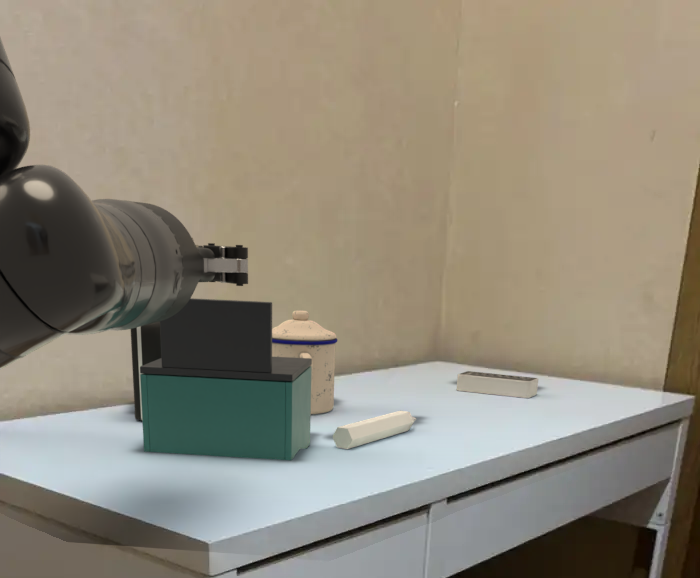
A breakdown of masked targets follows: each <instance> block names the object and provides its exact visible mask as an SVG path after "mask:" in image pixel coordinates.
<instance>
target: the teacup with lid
mask: <svg viewBox="0 0 700 578" xmlns="http://www.w3.org/2000/svg"><path fill="white" fill-rule="evenodd" d="M309 317H310V313H309V312H308V311H307V310H293V311H292V313H291V318H292V319H287V320H284V321H283V322H281V323H279V324H278V325H277V326H275V327H272V357H290V358H310V359H312V364H311V365H310V366H312V369H311V415H321V414H326V413H328V412H331V411H332V410H333V409H334V403H335V402H334V401H335V374H336V373H335V371H336V369H335V367H336V343H337V342H338V338H337V334H336V333H335V332H333V331H331V330H328V329H327V328H324V327H323V326H322V325H321V324H319V323H318V322H316V321H314V320H311V319H309Z"/></svg>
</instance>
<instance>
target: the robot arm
mask: <svg viewBox="0 0 700 578" xmlns="http://www.w3.org/2000/svg"><path fill="white" fill-rule="evenodd" d="M26 107H27V106H26V105H25V101H24V98H23V95H22V93H21V90H20V87H19V85H18V82H17V79H16V76H15V74H14V70H13V68H12V66H11V63H10V60H9V57H8V54H7V52H6V48H5V46H4V43H3V41H2V38H1V37H0V370H2V369H5V368H7V367H8V366H11V365H12V364H15V362H17V361H19V360H21V359H23V358H25V357H27V356H28V355H30V354H31V353H33V352H35V351H37V350H39V349H41V348H43V347H45V346H47V345H48V344H50V343H52V342H54V341H56V340H57V339H59V338H61V337H63V336H65V335H70V336H71V335H74V336H86V335H87V336H88V335H94V334H100V333H104V332H107V331H117V332H118V331H127V330H131V329H132V328H136V327H140V326H144V325H148V324H151V323H155V322H159V321H162V320H165V319H168V318H170V317H172V316H174V315H175V314H177V313H178V312H179V311H180V310H181V309H182V308H183V307H184V306H185V305H186V304H187V303H188V301H189V300H190V298H192V297H193V296H194V293H195V291H196V289H197V287H198V284H199V283H216V282H217V283H222V284H233V285H235V286H236V287H244V285H248V284H249V247H245V246H244V245H243V244H235V246H231V245H230V246H229V245H216V243H214V242H213V243H212V242H208V243H207V244H203V245H199V244H196V243H195V242H194V241H195V240H194V238H193V237H192V236H191V234H190V232H189V230H188V229H187V228H186V226H185V225H184V223H182V222H181V220H179V219H178V218H177V217H176V216H175V215H174V214H173V213H171V212H170V211H168V210H167V209H165V208H163V207H161V206H159V205H155V204H152V203H148V202H141V201H140V202H139V201H131V200H125V199H115V198H97V199H91V198H90V197H89V196H88V194H87V193H86V192H85V191H84V189H83V188H82V187H81V186H80V185H79V184H78V183H77V182H76V181H75V180H74V179H73V178H72V177H71V176H70V175H68V174H67V173H66V172H65V171H63V170H61V169H59V168H57V167H56V166H53V165H49V164H30V165H25V166H21V167H19V166H20V164H21V163H22V161H23V159H24V157H25V156H26V154H27V152H28V149H29V146H30V141H31V126H30V119H29V115H28V111H27V108H26Z"/></svg>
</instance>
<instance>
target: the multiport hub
mask: <svg viewBox="0 0 700 578" xmlns="http://www.w3.org/2000/svg"><path fill="white" fill-rule="evenodd" d="M538 386H539V378H538V377H531V376H522V375H521V376H520V375H511V374H501V373H490V372H481V371H473V370H472V371H471V370H467V371H464V372H461V373H458V374H457V379H456V391H459V392H468V393H475V394H476V393H477V394H485V395H494V396H503V397H512V398H522V399H530V398H533V397H534V396H535V397H536V396H537V395H538V388H539V387H538Z"/></svg>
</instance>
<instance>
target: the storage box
mask: <svg viewBox="0 0 700 578" xmlns="http://www.w3.org/2000/svg"><path fill="white" fill-rule="evenodd" d="M311 369H312V366H309V367H308V368H307V369H306V370H305V371H303V372H302V373H301V374H300V375H299V376H298V377H296V378H295V379H294V380H293V381H277V380H258V379H239V378H220V377H202V376H183V375H164V374H145V373H143V374H141V375H140V380H141V400H142V420H141V421H142V438H143V452H145V453H147V452H148V453H161V454H162V453H163V454H179V455H195V456H211V457H229V458H244V459H258V460H259V459H261V460H277V461H279V460H280V461H292V460H293V459H294V458H295V456H296V455H297V454H298V452H299V451H300V450H307V449H308V447H309V446H310V445H311V418H312V417H311V416H312V414H311Z"/></svg>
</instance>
